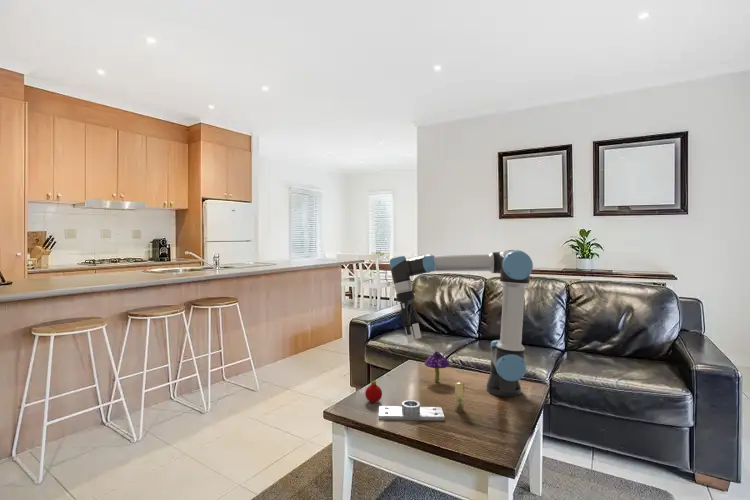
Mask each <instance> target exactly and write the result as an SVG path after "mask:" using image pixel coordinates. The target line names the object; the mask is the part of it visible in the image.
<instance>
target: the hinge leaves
mask: <svg viewBox="0 0 750 500" xmlns="http://www.w3.org/2000/svg"><path fill="white" fill-rule="evenodd" d="M380 419H382V420H387V421H389V420H390V421H392V420H393V421H396V420H397V421H443V422H444V421H445V415H444V411H443V408H442V407H441V406H421V403H420V402H419V401H418V400H412V399H408V400H404V401H402V402H401V406H398V405H396V406H395V405H392V406H391V405H379V406H378V420H380Z"/></svg>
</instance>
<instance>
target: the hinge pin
mask: <svg viewBox="0 0 750 500" xmlns="http://www.w3.org/2000/svg"><path fill="white" fill-rule="evenodd" d="M454 411H456V412H457V413H462V412H464V411H465V383H464V382H463V381H455V382H454Z"/></svg>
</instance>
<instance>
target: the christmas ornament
mask: <svg viewBox="0 0 750 500" xmlns="http://www.w3.org/2000/svg"><path fill="white" fill-rule="evenodd" d="M370 383H371V384H370V385H369V386H368V387H367V388H366V390H365V392H364V393H365V394H364V395H365V398H366V400H367V401H369V402H370V403H377V402H379V401H380V400H381V399H382V396H383V391H382V389H381V387H380V386H379V385H377V381H376V379H374V378H372V380H371V382H370Z"/></svg>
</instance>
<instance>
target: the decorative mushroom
mask: <svg viewBox="0 0 750 500" xmlns="http://www.w3.org/2000/svg"><path fill="white" fill-rule="evenodd" d="M423 363H424V365H425V366H426V367H428V368H431V369H432V368H433V369H434V371H435V375H434V376H435V377H434V382H436V383H437V382H440V369H446V368H448V367H450V366H451V363H450V362H449V361H448V359H447V358H446V357H445V356H444V355H443V354H441V352H440V351H439V350H436V351H434V352H433V353H432V354H431V355H429V357H428V358H427V359H426V360H424V361H423Z"/></svg>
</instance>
